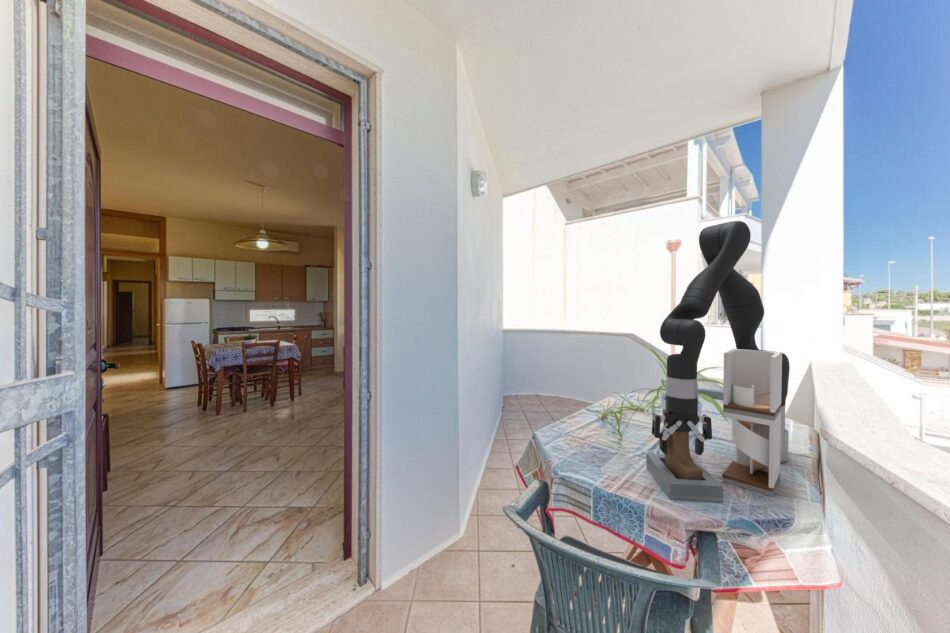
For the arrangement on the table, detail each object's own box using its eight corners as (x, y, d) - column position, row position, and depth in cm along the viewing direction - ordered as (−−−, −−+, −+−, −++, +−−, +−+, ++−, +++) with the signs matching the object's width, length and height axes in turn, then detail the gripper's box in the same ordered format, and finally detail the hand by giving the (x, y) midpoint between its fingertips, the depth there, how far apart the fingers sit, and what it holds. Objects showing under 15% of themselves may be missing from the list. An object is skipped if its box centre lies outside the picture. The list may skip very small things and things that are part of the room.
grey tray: (689, 468, 105) (690, 455, 104) (722, 502, 87) (722, 486, 87) (646, 466, 106) (646, 453, 106) (670, 499, 89) (670, 483, 89)
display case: (732, 467, 105) (733, 348, 103) (779, 480, 97) (782, 352, 96) (722, 481, 97) (723, 353, 96) (772, 496, 89) (775, 357, 88)
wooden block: (703, 487, 91) (701, 416, 92) (687, 488, 91) (684, 417, 91) (679, 472, 100) (677, 408, 101) (664, 473, 100) (662, 409, 100)
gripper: (703, 390, 98) (702, 448, 99) (648, 389, 100) (648, 446, 101) (717, 398, 91) (717, 460, 92) (658, 397, 93) (658, 458, 94)
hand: (681, 453), depth 96 cm, fingers open, 8 cm apart
